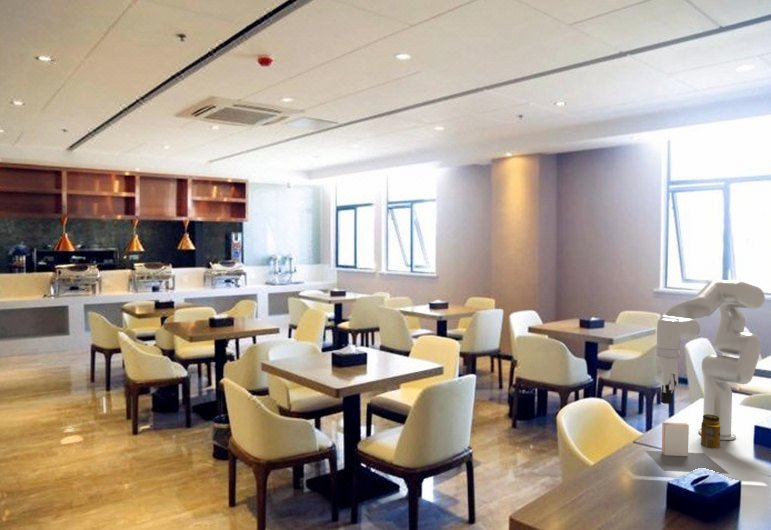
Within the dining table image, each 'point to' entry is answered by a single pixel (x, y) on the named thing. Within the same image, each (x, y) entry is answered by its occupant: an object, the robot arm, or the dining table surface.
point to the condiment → (710, 431)
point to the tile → (675, 439)
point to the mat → (685, 462)
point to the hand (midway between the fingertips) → (666, 403)
